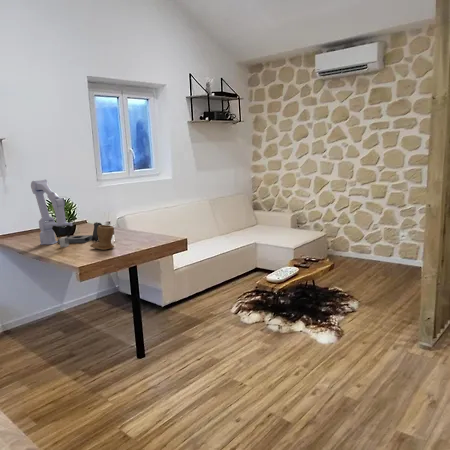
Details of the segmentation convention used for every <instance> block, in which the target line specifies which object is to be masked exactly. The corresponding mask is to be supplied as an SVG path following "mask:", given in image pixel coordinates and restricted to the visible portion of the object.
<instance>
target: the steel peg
mask: <svg viewBox="0 0 450 450" xmlns="http://www.w3.org/2000/svg"><path fill="white" fill-rule="evenodd" d="M58 239H59V241H60V244H59V247H60V248H67V247H69V246H70V243H69V241H68V237H65V236H62V237H58Z"/></svg>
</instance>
